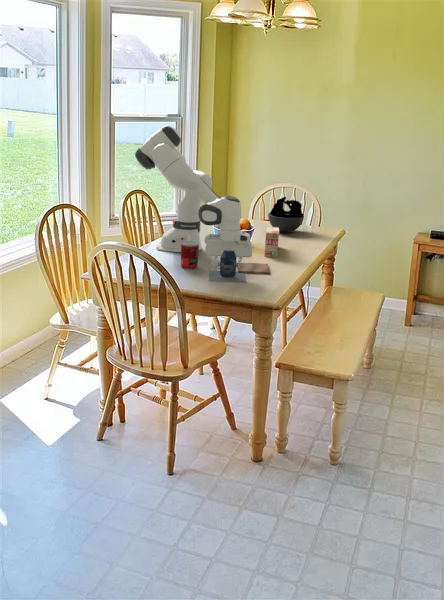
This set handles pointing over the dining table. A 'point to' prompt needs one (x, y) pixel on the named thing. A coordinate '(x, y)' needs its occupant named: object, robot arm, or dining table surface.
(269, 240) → the stack of blocks
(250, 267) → the walnut coaster
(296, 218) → the coal bowl
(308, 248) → the dining table surface
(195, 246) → the canned food
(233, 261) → the soda can
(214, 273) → the blue gray card
